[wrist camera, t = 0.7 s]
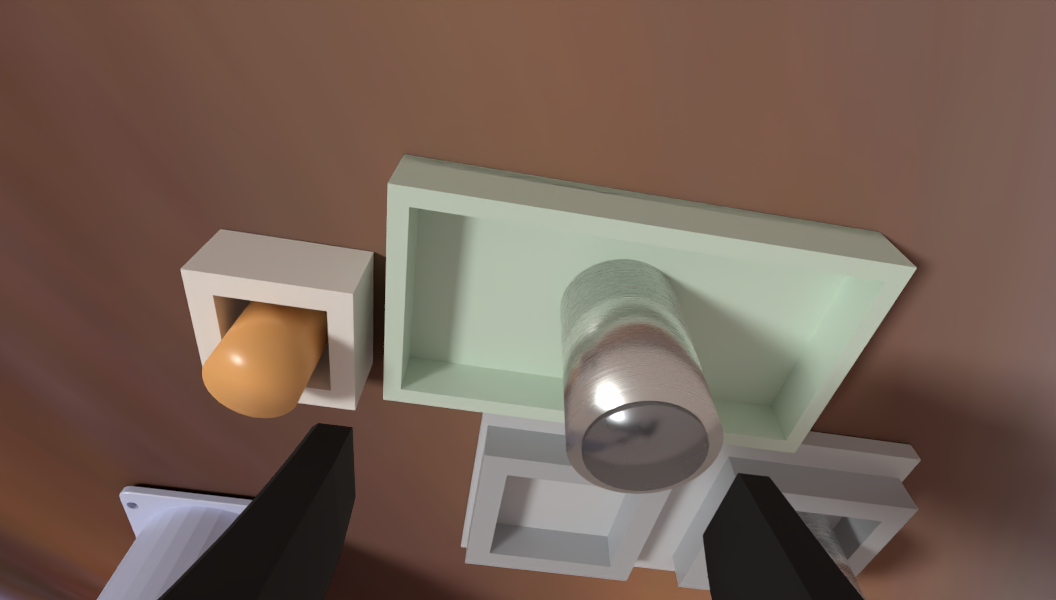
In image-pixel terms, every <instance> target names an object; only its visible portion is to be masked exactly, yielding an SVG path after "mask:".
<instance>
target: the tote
mask: <svg viewBox="0 0 1056 600" xmlns="http://www.w3.org/2000/svg"><path fill="white" fill-rule="evenodd" d="M616 259H630V260H637V261H641V262H644V263H647V264H649V265H651V266H653V267H655V268H657V269H658V270H660V271H661V272H662V273H663V274H664V275H666V276H667V278H668V279H669V280H670V282H671V283H672V285H673V287H674V290H675V292H676V295H677V298H678V301H679V304H680V307H681V310H682V312H683V315H684V318H685V321H686V324H687V327H688V330H689V333H690V336H691V338H692V341H693V344H694V347H695V350H696V353H697V356H698V359H699V362H700V364H701V367H702V370H703V373H704V376H705V379H706V382H707V385H708V388H709V390H710V393H711V396H712V399H713V402H714V405H715V408H716V411H717V414H718V416H719V419H720V422H721V425H722V428H723V444H727V445H734V446H742V447H750V448H757V449H765V450H773V451H780V452H788V453H795V452H796V451H797V449H798V447H799V446H800V444H801V443H802V441H803V440H804V438H805V437H806V435H807V434H808V432H809V431H810V429H811V428H812V426H813V425H814V423H815V422H816V420H817V419H818V417H819V416H820V414H821V413H822V411H823V410H824V408H825V407H826V405H827V404H828V402H829V401H830V399H831V398H832V396H833V394H834V393H835V391H836V390H837V388H838V387H839V385H840V384H841V382H842V381H843V379H844V378H845V376H846V375H847V373H848V372H849V370H850V369H851V367H852V366H853V364H854V363H855V361H856V360H857V358H858V357H859V355H860V354H861V352H862V351H863V349H864V348H865V346H866V345H867V343H868V342H869V340H870V338H871V337H872V335H873V334H874V332H875V331H876V329H877V328H878V326H879V325H880V323H881V322H882V320H883V319H884V317H885V316H886V314H887V313H888V311H889V310H890V308H891V307H892V305H893V304H894V302H895V301H896V299H897V298H898V296H899V295H900V293H901V292H902V290H903V289H904V287H905V285H906V284H907V282H908V281H909V279H910V278H911V276H912V275H913V273H914V272H915V270H916V269H917V267H916V266H915V265H914V264H912V263H911V262H910V261H909V260H908V259H907V258H906V257H905V256H904V255H903V254H902V253H901V252H900V251H899V250H898V249H897V248H896V247H895V246H894V245H893V244H892V243H891V242H889V241H888V240H887V239H886V238H885V237H884V236H883V235H882V234H881V233H880V232H877V231H871V230H864V229H858V228H852V227H846V226H840V225H834V224H828V223H822V222H816V221H810V220H803V219H797V218H791V217H785V216H779V215H773V214H767V213H761V212H755V211H749V210H742V209H736V208H730V207H724V206H718V205H712V204H706V203H700V202H694V201H688V200H681V199H675V198H669V197H663V196H657V195H651V194H645V193H639V192H633V191H627V190H620V189H614V188H608V187H602V186H596V185H590V184H584V183H578V182H572V181H566V180H559V179H553V178H547V177H541V176H535V175H529V174H523V173H517V172H511V171H505V170H498V169H492V168H486V167H480V166H474V165H468V164H462V163H456V162H450V161H444V160H437V159H431V158H425V157H419V156H413V155H407V154H404V156H403V157H402V159H401V161H400V163H399V164H398V166H397V168H396V170H395V171H394V173H393V175H392V177H391V178H390V180H389V182H388V194H387V241H386V288H385V336H384V383H383V399H384V400H392V401H399V402H407V403H414V404H422V405H430V406H437V407H445V408H452V409H460V410H468V411H475V412H483V413H491V414H498V415H506V416H513V417H521V418H529V419H536V420H544V421H552V422H559V423H565V415H564V392H563V368H562V344H561V321H560V305H561V300H562V297H563V294H564V292H565V290H566V288H567V287H568V285H569V284H570V282H571V281H572V280H573V279H574V278H575V277H576V276H577V275H579V274H580V273H581V272H582V271H584V270H586V269H587V268H589V267H591V266H593V265H595V264H598V263H601V262H605V261H609V260H616Z"/></svg>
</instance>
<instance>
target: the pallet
mask: <svg viewBox="0 0 1056 600" xmlns="http://www.w3.org/2000/svg"><path fill="white" fill-rule="evenodd" d="M920 461H921V459H920V458H919V456H918V455H917V453H916V452H915V450H914V449H913V447H912V446H911V445H909V444H901V443H894V442H887V441H879V440H872V439H864V438H857V437H849V436H842V435H835V434H827V433H820V432H812V431H809V432H808V434H807V435H806V437H805V438H804V440H803V441H802V443H801V444H800V446H799V447H798V449H797V451H796V452H795V453H788V452H780V451H773V450H765V449H757V448H750V447H742V446H734V445H727V444H722V448H721V451H720V453H719V455H718V457H717V458H716V460H715V461H714V462H713V464H712V465H711V466H710V467H709V468H708V469H707V470H706V471H705V472H703V473H702V474H701V475H699V476H698V477H697V478H695V479H693V480H691V481H690V482H688V483H685V484H683V485H681V486H678V487H675V488H673V489H669V490H665V491H661V492H655V493H646V494H629V493H620V492H614V491H611V490H607V489H604V488H601V487H598V486H596V485H594V484H592V483H590V482H589V481H587V480H586V479H584V478H583V477H582V476H581V475H579V474H578V473H577V472H576V470H575V469H574V468H573V467H572V465H571V463H570V462H569V459H568V457H567V452H566V439H565V423H559V422H552V421H544V420H536V419H529V418H521V417H513V416H506V415H498V414H491V413H483V414H482V420H481V426H480V432H479V438H478V444H477V450H476V456H475V462H474V468H473V474H472V480H471V486H470V492H469V498H468V504H467V510H466V516H465V522H464V528H463V535H462V542H461V547H466V548H467V550H466V559H465V563H469V564H478V565H487V566H496V567H505V568H514V569H523V570H532V571H542V572H551V573H560V574H569V575H578V576H587V577H596V578H605V579H614V580H623V581H626V580H627V578H628V576H629V574H630V572H631V570H632V568H633V566H634V567H643V568H652V569H661V570H670V571H675V572H676V577H677V582H678V587H686V588H695V589H704V590H710V587H709V580H708V574H707V567H706V559H705V551H704V543H703V534H704V532H705V530H706V528H707V526H708V525H709V523H710V521H711V519H712V518H713V516H714V514H715V512H716V511H717V509H718V507H719V505H720V504H721V502H722V500H723V498H724V497H725V495H726V493H727V491H728V490H729V488H730V486H731V484H732V483H733V481H734V479H735V477H736V475H737V474H738V473H744V474H752V475H761V476H769V477H770V478H771V479H772V481H773V482H774V483H775V485H776V486H777V487H778V488H779V490H780V491H781V492H782V494H783V495H784V496H785V498H786V499H787V500H788V502H789V503H790V504H791V506H792V507H793V508H794V510H795V511H802V512H810V513H818V514H826V516H827V518H828V520H829V522H830V525H831V527H832V529H833V531H834V533H835V535H836V537H837V540H838V542H839V544H840V546H841V548H842V550H843V552H844V554H845V557H846V559H847V561H848V563H849V565H850V567H851V569H852V572H853V574H854V576H855V577H856V576H857V575H858V574H859V573H860V572H861V571H862V570H863V569H864V568H865V567H866V565H867V564H868V563H869V562H870V561H871V560H872V559H873V558H874V557H875V556H876V555H877V554H878V553H879V552H880V550H881V549H882V548H883V547H884V546H885V545H886V544H887V543H888V542H889V541H890V540H891V539H892V538H893V537H894V535H895V534H896V533H897V532H898V531H899V530H900V529H901V528H902V527H903V526H904V525H905V524H906V523H907V522H908V520H909V519H910V518H911V517H912V516H913V515H914V514H915V513H916V512H917V511H918V510H919V509H918V508H917V506H916V505H915V503H914V501H913V500H912V498H911V497H910V495H909V494H908V492H907V490H906V489H905V487H904V486H903V484H902V482H903V480H904V479H905V478H906V477H907V476H908V475H909V474H910V472H911V471H912V470H913V469H914V468H915V467H916V465H917V464H918V463H919V462H920Z"/></svg>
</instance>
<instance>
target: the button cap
mask: <svg viewBox="0 0 1056 600" xmlns="http://www.w3.org/2000/svg"><path fill="white" fill-rule="evenodd" d="M327 343H328V323H327V315H326V313H325V312H324V311H321V310H314V309H307V308H300V307H293V306H286V305H279V304H272V303H265V302H257V301H250V303H249V304H248V305H247V307H246V308H245V309H244V311H243V312H242V313H241V315H240V316H239V317H238V319H237V320H236V321H235V323H234V324H233V325H232V327H231V328H230V329H229V331H228V332H227V333H226V335H225V336H224V337H223V339H222V340H221V341H220V343H219V344H218V345H217V347H216V348H215V349H214V351H213V352H212V353H211V355H210V356H209V357H208V359H207V360H206V361H205V363H204V365H203V369H202V377H203V381H204V384H205V386H206V388H207V389H208V391H209V392H210V393H211V394H212V396H213V397H214V398H215V399H216V400H218V401H219V402H220V403H221V404H223V405H224V406H226V407H227V408H229V409H231V410H233V411H235V412H238V413H240V414H243V415H247V416H251V417H257V418H274V417H279V416H282V415H285V414H287V413H288V412H290V411H291V410H293V409H294V408H295V406H296V405H297V403H298V401H299V399H300V397H301V395H302V393H303V391H304V389H305V387H306V385H307V383H308V381H309V379H310V377H311V375H312V373H313V371H314V369H315V367H316V365H317V363H318V361H319V359H320V357H321V355H322V353H323V351H324V349H325V347H326V345H327Z"/></svg>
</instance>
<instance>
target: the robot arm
mask: <svg viewBox="0 0 1056 600" xmlns="http://www.w3.org/2000/svg"><path fill="white" fill-rule="evenodd" d="M119 496H120V499H121V502H122V504H123V507H124V509H125V511H126V514H127V516H128V519H129V521H130V524H131V526H132V528H133V531H134V533H135V536H136V540H135V541H134V543H133V544H132V546H131V547H130V549H129V551H128V552H127V554H126V555H125V557H124V558H123V560H122V561H121V563H120V564H119V566H118V567H117V569H116V571H115V572H114V574H113V575H112V577H111V578H110V580H109V581H108V583H107V584H106V586H105V588H104V589H103V591H102V592H101V594H100V595H99V597H98V598H97V600H324V597H325V595H326V592H327V589H328V586H329V584H330V581H331V578H332V576H333V573H334V570H335V568H336V565H337V562H338V559H339V557H340V554H341V551H342V547H343V543H344V539H345V536H346V532H347V528H348V524H349V520H350V517H351V513H352V509H353V505H354V501H355V475H354V452H353V429H352V427H346V426H337V425H329V424H321V423H318V424H316V425H315V426H313V427H312V428H311V429H310V431H309V432H308V433H307V435H306V436H305V437H304V439H303V440H302V441H301V443H300V444H299V445H298V446H297V448H296V449H295V450H294V451H293V453H292V454H291V455H290V456H289V458H288V459H287V460H286V461H285V463H284V464H283V465H282V466H281V468H280V469H279V470H278V471H277V472H276V474H275V475H274V476H273V477H272V478H271V480H270V481H269V482H268V483H267V484H266V485H265V487H264V488H263V489H262V490H261V491H260V492H259V494H258V495H257V496H256V497H255V498H254V499H253V500H249V499H240V498H232V497H223V496H214V495H206V494H197V493H188V492H180V491H171V490H163V489H154V488H145V487H137V486H127V487H125V488H124V489H123V490H122V492H121V493H120V495H119ZM703 543H704V551H705V559H706V567H707V574H708V580H709V587H710V593H711V597H712V600H864V599H863V598H862V596H861V595H860V594H859V593H858V591H857V590H856V589H855V588H854V586H853V585H852V584H851V583H850V581H849V580H848V579H847V578H846V576H845V575H844V574H843V572H842V571H841V570H840V569H839V567H838V566H837V565H836V563H835V562H834V561H833V560H832V558H831V557H830V556H829V554H828V553H827V552H826V551H825V549H824V548H823V547H822V545H821V544H820V543H819V541H818V540H817V539H816V537H815V536H814V535H813V533H812V532H811V531H810V529H809V528H808V527H807V526H806V524H805V523H804V522H803V520H802V519H801V518H800V516H799V515H798V514H797V512H796V511H795V510H794V508H793V507H792V506H791V504H790V503H789V502H788V500H787V499H786V498H785V496H784V495H783V494H782V492H781V491H780V490H779V488H778V487H777V486H776V485H775V483H774V482H773V481H772V479H771V478H770V477H769V476H761V475H752V474H744V473H738V474H737V475H736V477H735V479H734V481H733V483H732V484H731V486H730V488H729V490H728V491H727V493H726V495H725V497H724V498H723V500H722V502H721V504H720V505H719V507H718V509H717V511H716V512H715V514H714V516H713V518H712V519H711V521H710V523H709V525H708V526H707V528H706V530H705V532H704V534H703Z"/></svg>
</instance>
